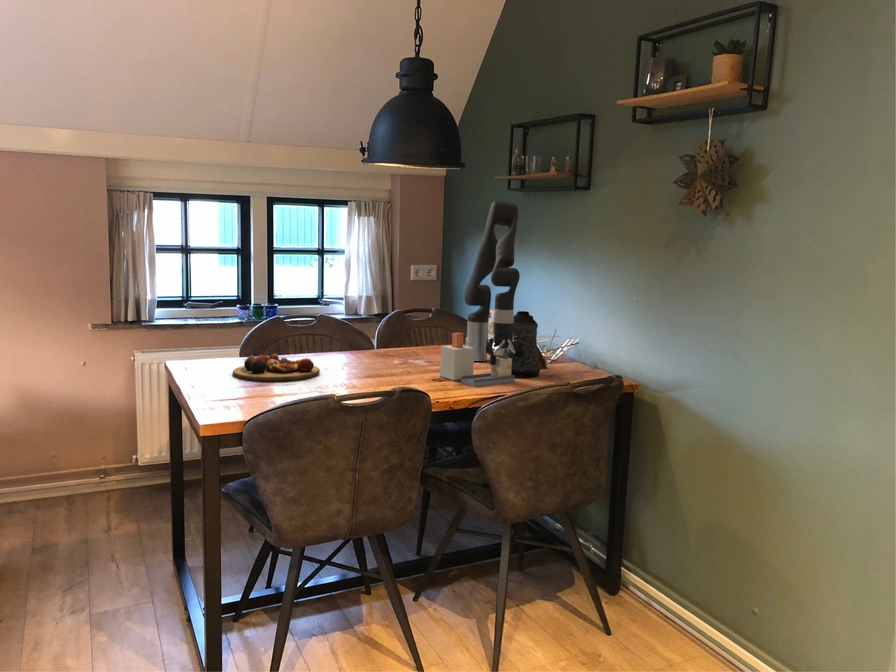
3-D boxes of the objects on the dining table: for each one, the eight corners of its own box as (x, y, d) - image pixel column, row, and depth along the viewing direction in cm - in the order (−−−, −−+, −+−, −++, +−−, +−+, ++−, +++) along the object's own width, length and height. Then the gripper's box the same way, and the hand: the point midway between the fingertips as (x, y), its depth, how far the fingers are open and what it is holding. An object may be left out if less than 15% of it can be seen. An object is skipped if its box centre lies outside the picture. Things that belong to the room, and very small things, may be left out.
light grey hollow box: (439, 376, 269) (440, 346, 268) (459, 374, 275) (460, 344, 273) (453, 381, 262) (454, 349, 260) (473, 379, 267) (474, 348, 266)
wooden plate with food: (337, 374, 270) (337, 353, 269) (272, 386, 244) (272, 362, 243) (280, 365, 288) (280, 345, 287) (214, 375, 262) (214, 353, 261)
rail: (461, 382, 260) (461, 376, 259) (501, 378, 271) (501, 371, 270) (474, 386, 253) (474, 380, 253) (514, 382, 264) (514, 375, 264)
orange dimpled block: (451, 356, 267) (452, 332, 266) (458, 355, 269) (458, 332, 268) (456, 357, 265) (457, 333, 264) (462, 356, 267) (463, 333, 266)
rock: (514, 359, 300) (524, 360, 290) (525, 343, 301) (535, 343, 292) (533, 374, 303) (543, 375, 293) (544, 358, 304) (554, 359, 295)
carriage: (490, 375, 266) (491, 355, 265) (500, 374, 269) (501, 354, 268) (501, 378, 261) (501, 357, 260) (511, 377, 264) (512, 356, 263)
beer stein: (498, 377, 272) (501, 313, 268) (498, 368, 291) (500, 308, 288) (541, 379, 271) (544, 315, 268) (538, 370, 290) (541, 309, 287)
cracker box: (483, 353, 329) (485, 308, 326) (495, 352, 332) (496, 308, 329) (498, 358, 316) (500, 312, 314) (510, 357, 319) (511, 311, 316)
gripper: (511, 319, 269) (510, 361, 271) (482, 321, 261) (480, 364, 263) (524, 321, 263) (522, 364, 265) (495, 323, 255) (493, 367, 257)
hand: (502, 364), depth 264 cm, fingers open, 8 cm apart
